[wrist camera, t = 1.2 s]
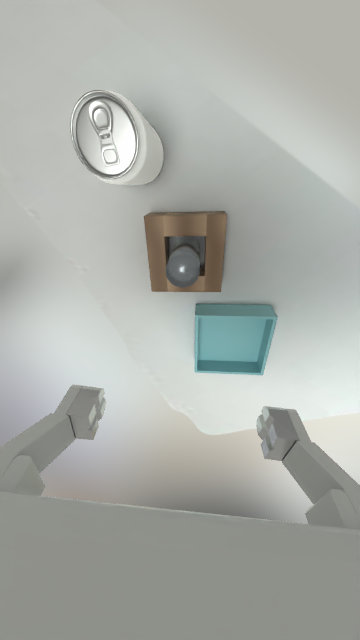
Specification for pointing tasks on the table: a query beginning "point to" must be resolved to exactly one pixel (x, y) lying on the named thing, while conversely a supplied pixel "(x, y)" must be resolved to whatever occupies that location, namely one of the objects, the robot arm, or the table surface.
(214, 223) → the pin block
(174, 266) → the pin
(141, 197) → the table surface
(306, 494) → the robot arm
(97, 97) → the can
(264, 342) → the tray
